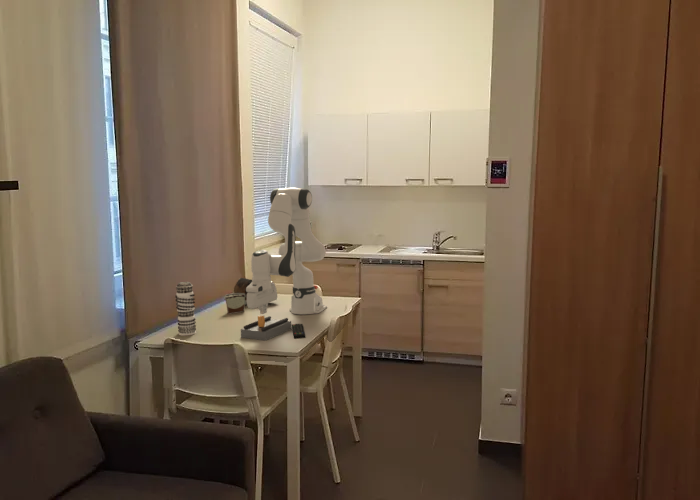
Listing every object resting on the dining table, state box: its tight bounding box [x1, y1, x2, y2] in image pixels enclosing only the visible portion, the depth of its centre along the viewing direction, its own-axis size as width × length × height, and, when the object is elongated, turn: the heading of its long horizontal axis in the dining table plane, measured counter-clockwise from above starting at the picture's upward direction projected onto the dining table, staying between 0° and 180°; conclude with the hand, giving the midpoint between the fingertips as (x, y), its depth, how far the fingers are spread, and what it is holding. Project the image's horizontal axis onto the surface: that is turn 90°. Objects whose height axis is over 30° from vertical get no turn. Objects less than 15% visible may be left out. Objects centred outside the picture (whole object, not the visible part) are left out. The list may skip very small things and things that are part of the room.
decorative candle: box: [174, 281, 197, 336], centre depth 294 cm, size 9×9×25 cm
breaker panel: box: [240, 318, 292, 341], centre depth 291 cm, size 22×14×4 cm, turn 153°
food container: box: [223, 292, 246, 315], centre depth 339 cm, size 12×6×10 cm, turn 123°
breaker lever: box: [257, 314, 265, 327], centre depth 287 cm, size 2×2×5 cm
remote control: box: [291, 323, 306, 339], centre depth 293 cm, size 5×24×1 cm, turn 8°
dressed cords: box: [243, 315, 289, 331], centre depth 291 cm, size 22×12×2 cm, turn 153°
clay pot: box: [233, 277, 252, 306], centre depth 358 cm, size 15×15×25 cm
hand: (263, 313), depth 289 cm, fingers closed
